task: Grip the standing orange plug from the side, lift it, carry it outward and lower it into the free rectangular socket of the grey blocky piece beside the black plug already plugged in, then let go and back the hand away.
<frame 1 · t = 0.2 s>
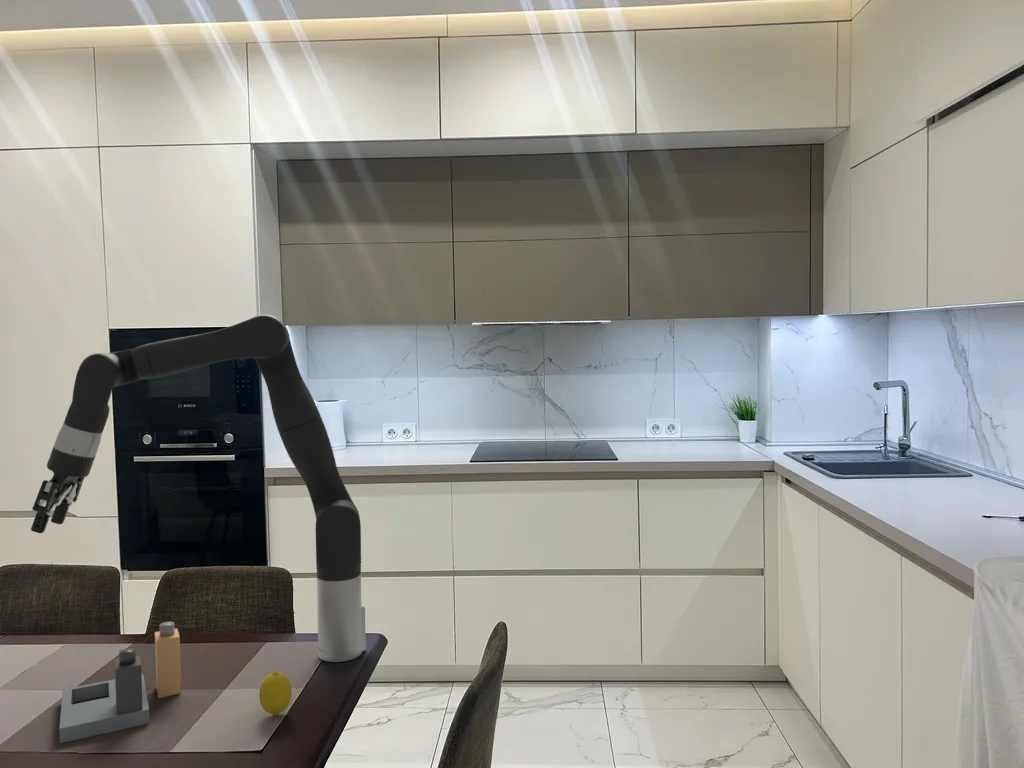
hand: (47, 527, 148), 31 cm above the table, tool tilted 20°, fingers open, 8 cm apart
grey blocky piece: (90, 706, 138), on the table
lemon: (276, 716, 134), on the table
plug: (168, 690, 145), on the table
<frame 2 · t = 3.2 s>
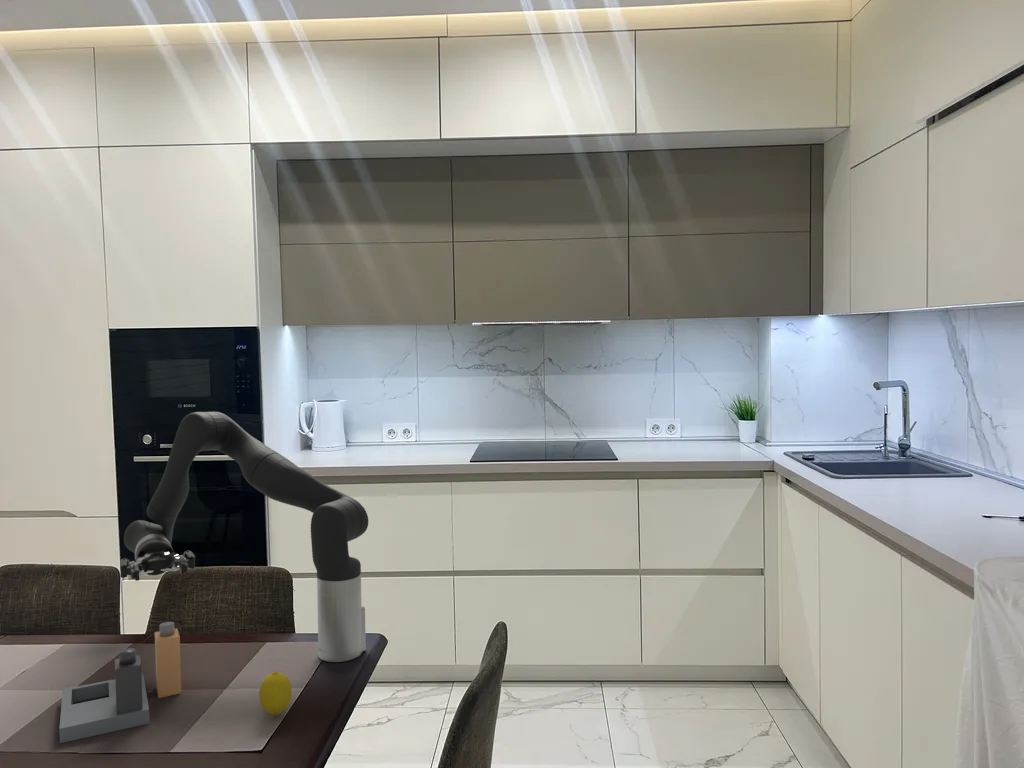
hand: (160, 572, 153), 20 cm above the table, tool horizontal, fingers open, 8 cm apart
nothing on the table moved.
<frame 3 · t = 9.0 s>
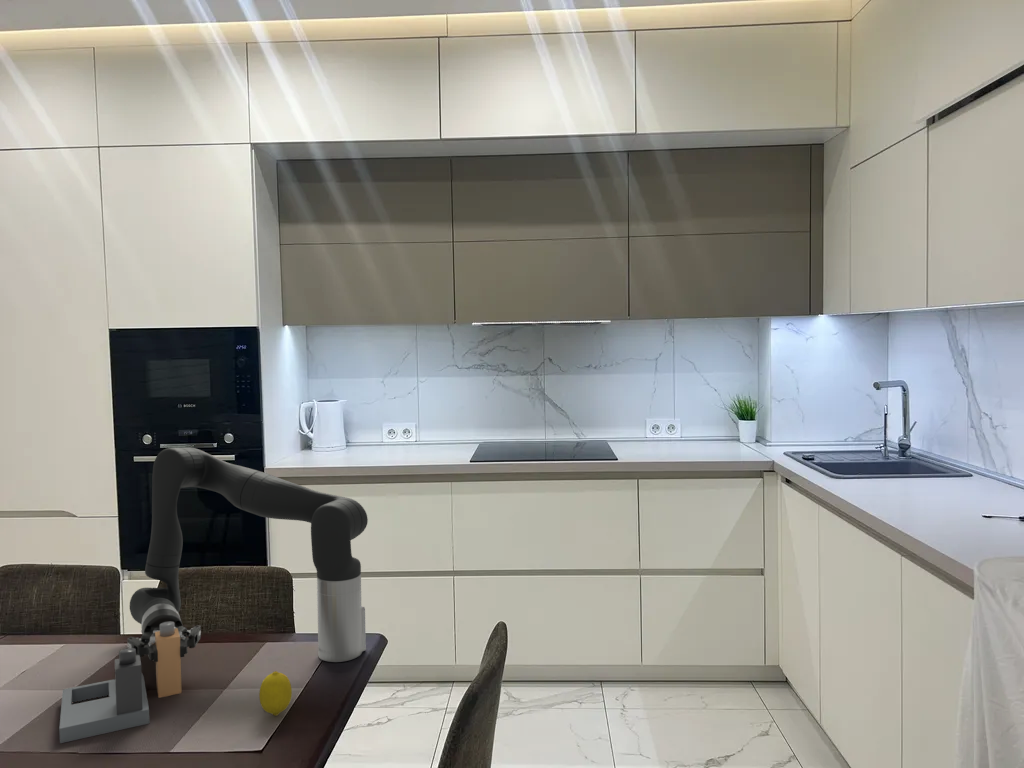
hand: (169, 654, 142), 8 cm above the table, tool horizontal, fingers closed on plug, 4 cm apart
plug: (168, 690, 145), on the table, touching gripper
everything else where it was.
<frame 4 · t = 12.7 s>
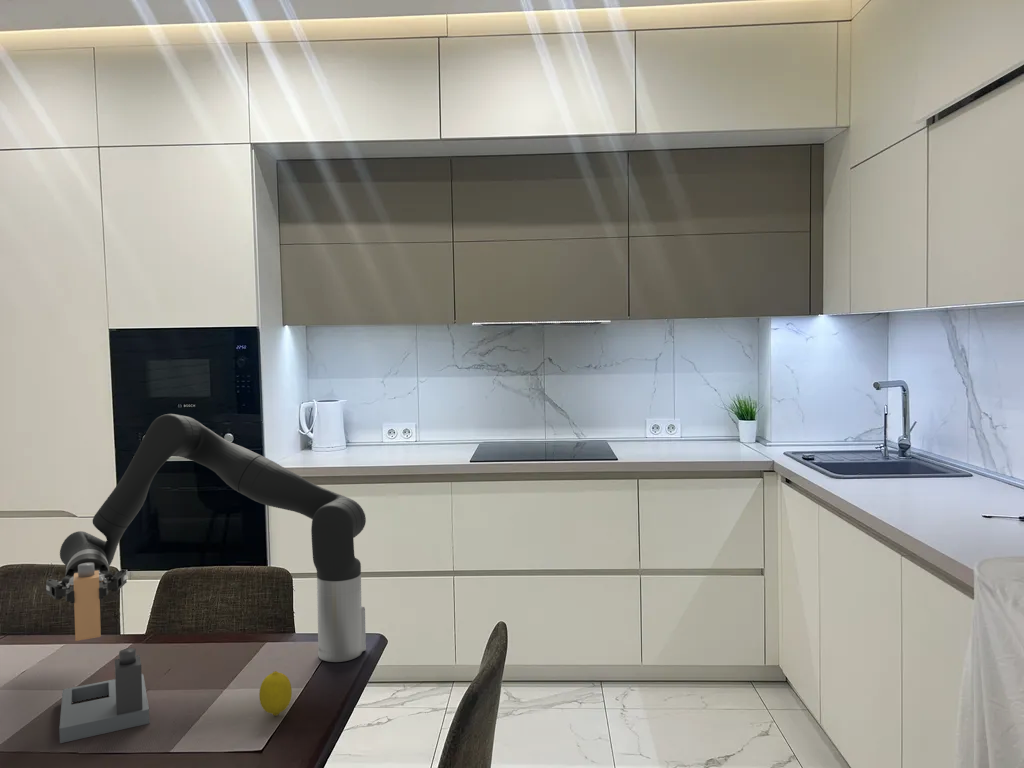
hand: (87, 595, 135), 22 cm above the table, tool horizontal, fingers closed on plug, 4 cm apart
plug: (88, 634, 138), point 13 cm above the table, touching gripper
everything else where it was.
when the fingers open (8 cm above the table, at t = 16.4 s): plug stays where it is, resting in grey blocky piece.
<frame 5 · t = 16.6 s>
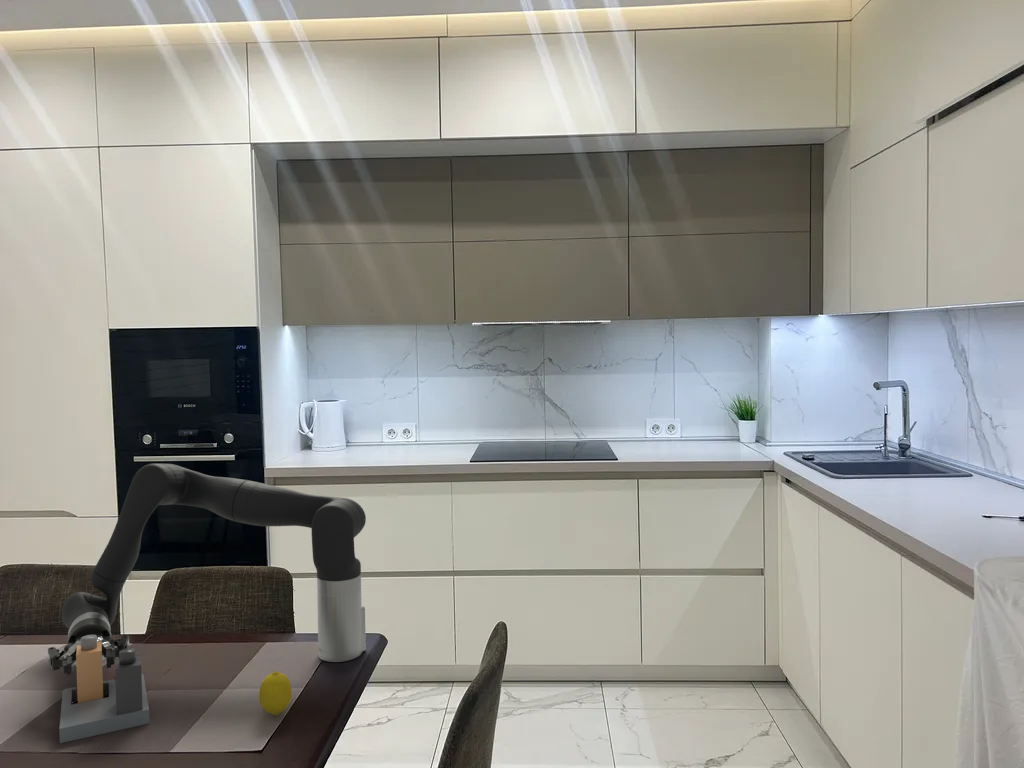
hand: (89, 666, 136), 8 cm above the table, tool horizontal, fingers open, 5 cm apart
plug: (90, 706, 138), resting in grey blocky piece
everything else where it was.
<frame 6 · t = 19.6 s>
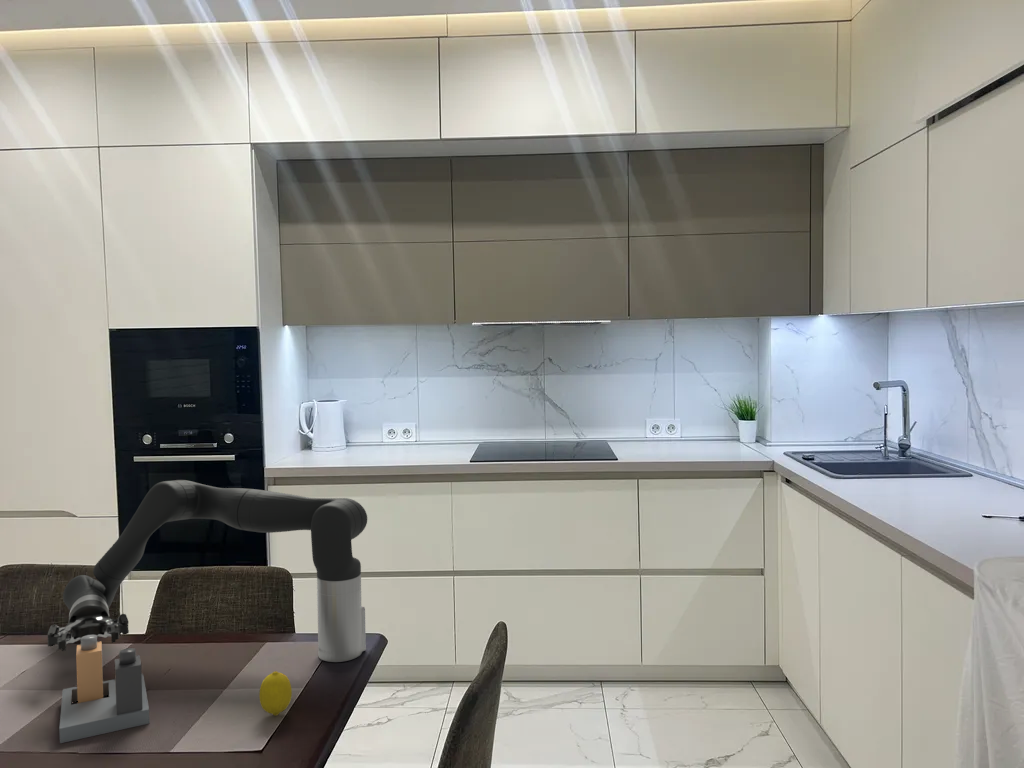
hand: (89, 641, 147), 9 cm above the table, tool horizontal, fingers open, 8 cm apart
nothing on the table moved.
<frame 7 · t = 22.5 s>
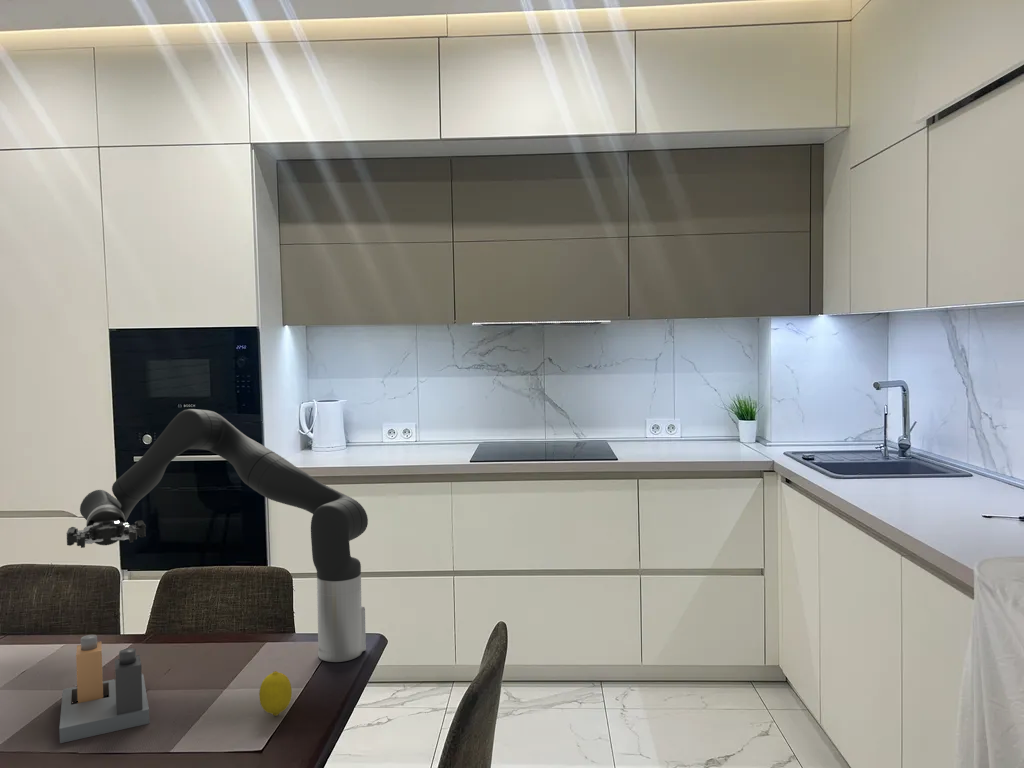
hand: (107, 539, 149), 28 cm above the table, tool horizontal, fingers open, 8 cm apart
nothing on the table moved.
at the end: plug 0.0 cm off-centre on the grey blocky piece, point 0.0 cm above the grey blocky piece's base; plug tilted 0°; the gripper is holding nothing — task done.
